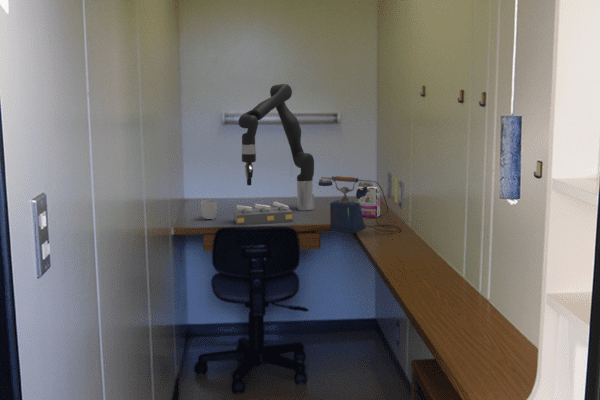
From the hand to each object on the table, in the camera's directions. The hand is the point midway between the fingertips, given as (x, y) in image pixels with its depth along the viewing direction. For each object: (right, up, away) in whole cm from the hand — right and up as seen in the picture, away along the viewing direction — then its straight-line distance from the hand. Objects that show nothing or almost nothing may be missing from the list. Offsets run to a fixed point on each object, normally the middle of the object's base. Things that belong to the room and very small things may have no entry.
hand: (249, 185), depth 341 cm
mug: (-24, -18, +16) cm, 34 cm away
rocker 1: (-3, -13, +2) cm, 13 cm away
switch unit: (+7, -19, +6) cm, 21 cm away
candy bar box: (+65, -17, +10) cm, 68 cm away
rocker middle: (+7, -12, +4) cm, 15 cm away
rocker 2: (+17, -12, +6) cm, 21 cm away
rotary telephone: (+58, -23, -20) cm, 66 cm away
